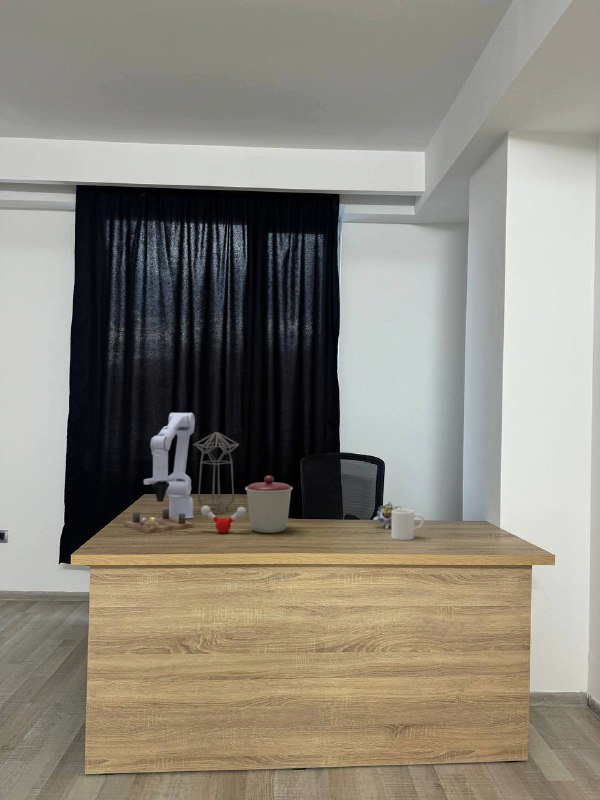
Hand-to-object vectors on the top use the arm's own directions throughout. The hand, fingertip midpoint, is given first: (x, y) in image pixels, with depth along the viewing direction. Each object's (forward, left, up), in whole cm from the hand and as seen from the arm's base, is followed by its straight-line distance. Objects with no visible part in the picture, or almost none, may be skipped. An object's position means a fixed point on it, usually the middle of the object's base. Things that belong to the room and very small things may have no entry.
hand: (160, 501), depth 286 cm
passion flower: (-72, +54, -10) cm, 91 cm away
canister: (-29, +32, -10) cm, 44 cm away
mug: (-62, +73, -10) cm, 96 cm away
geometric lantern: (-36, -17, -10) cm, 41 cm away
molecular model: (-13, +25, -10) cm, 30 cm away
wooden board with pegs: (0, -1, -10) cm, 10 cm away
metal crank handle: (+6, +2, -8) cm, 11 cm away
